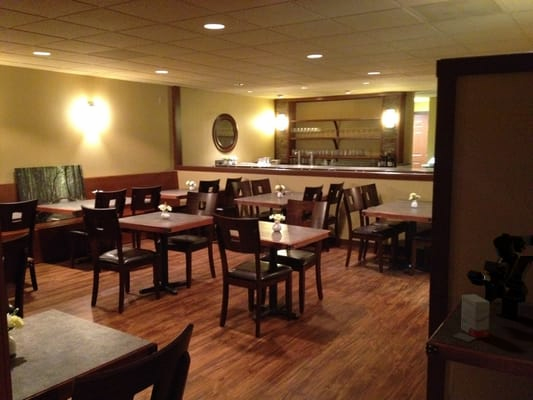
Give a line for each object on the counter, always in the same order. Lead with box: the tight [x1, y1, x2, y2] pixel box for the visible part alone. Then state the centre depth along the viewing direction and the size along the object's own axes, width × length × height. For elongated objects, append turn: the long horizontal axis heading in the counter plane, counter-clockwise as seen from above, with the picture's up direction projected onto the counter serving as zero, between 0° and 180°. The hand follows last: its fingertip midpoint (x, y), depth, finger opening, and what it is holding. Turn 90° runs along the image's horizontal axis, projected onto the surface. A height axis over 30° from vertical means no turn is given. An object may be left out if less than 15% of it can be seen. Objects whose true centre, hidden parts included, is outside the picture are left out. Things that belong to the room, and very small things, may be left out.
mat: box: [452, 332, 477, 343], centre depth 146 cm, size 4×6×1 cm
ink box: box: [460, 293, 491, 339], centre depth 150 cm, size 9×5×12 cm, turn 8°
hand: (486, 303), depth 153 cm, fingers closed
